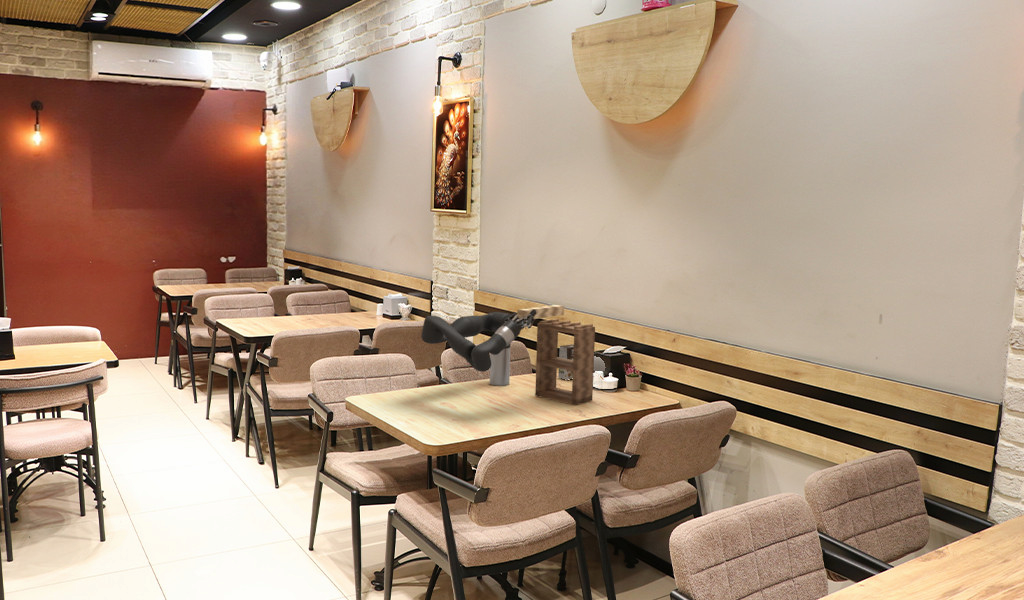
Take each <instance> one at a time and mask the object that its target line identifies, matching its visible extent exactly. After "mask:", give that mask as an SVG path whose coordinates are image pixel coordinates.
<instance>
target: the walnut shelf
mask: <svg viewBox="0 0 1024 600" xmlns="http://www.w3.org/2000/svg"><path fill="white" fill-rule="evenodd" d="M536 327H537V328H536V329H537V330H536V331H537V332H536V360H535V361H536V363H535V364H536V365H535V391H534V392H535V394H534V395H537V396H536V397H539V396H541V397H540V398H543V397H544V399H547V398H548V400H553V401H556V402H560V403H565V404H569V405H573V406H577V405H578V406H579V405H581V404H585V403H587V402H591V401H593V394H594V388H593V384H594V372H595V371H594V354H595V344H596V343H595V341H596V326H594V324H593V323H590V324H581V322H580V321H577V322H571V320H565V321H560V319H559V318H554V319H547V320H541V321H539V322H537V326H536ZM559 332H560V333H566V334H572V335H573V345H574V353H573V360H569V359H564V358H559V356H558V349H559V348H558V347H559V346H558V343H559V342H558V341H559ZM559 368H560V369H564V370H569V371H573V380H571V381H572V383H571V384H572V387H571V390H569V389H564V388H560V387H557V378H558V374H557V372H558V370H557V369H559Z"/></svg>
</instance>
